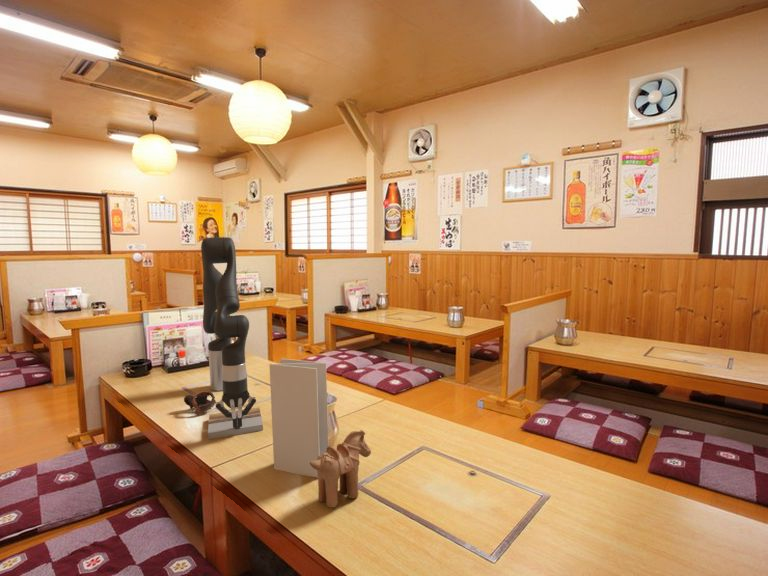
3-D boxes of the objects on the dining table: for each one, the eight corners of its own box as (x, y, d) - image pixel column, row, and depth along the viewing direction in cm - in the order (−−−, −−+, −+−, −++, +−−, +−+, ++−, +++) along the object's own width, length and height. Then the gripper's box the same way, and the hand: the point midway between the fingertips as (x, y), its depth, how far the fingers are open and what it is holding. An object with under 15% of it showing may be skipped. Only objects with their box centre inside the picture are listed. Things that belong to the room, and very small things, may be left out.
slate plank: (208, 429, 141) (208, 424, 141) (261, 421, 147) (261, 416, 147) (208, 439, 135) (207, 433, 135) (263, 430, 141) (262, 424, 141)
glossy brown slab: (209, 420, 149) (209, 413, 149) (259, 412, 155) (259, 406, 155) (209, 429, 142) (208, 422, 142) (261, 420, 148) (260, 414, 148)
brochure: (329, 467, 117) (326, 362, 114) (320, 478, 112) (316, 368, 109) (285, 459, 122) (280, 358, 119) (274, 469, 117) (269, 364, 113)
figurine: (379, 487, 108) (378, 431, 106) (321, 517, 96) (319, 455, 94) (361, 475, 113) (360, 422, 111) (304, 503, 102) (302, 444, 100)
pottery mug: (219, 405, 164) (220, 390, 160) (209, 425, 156) (210, 410, 152) (188, 398, 163) (188, 384, 159) (177, 418, 155) (176, 403, 151)
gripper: (255, 371, 142) (257, 420, 144) (213, 376, 138) (216, 427, 139) (256, 377, 135) (259, 429, 137) (212, 382, 131) (215, 436, 132)
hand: (237, 428), depth 138 cm, fingers closed
